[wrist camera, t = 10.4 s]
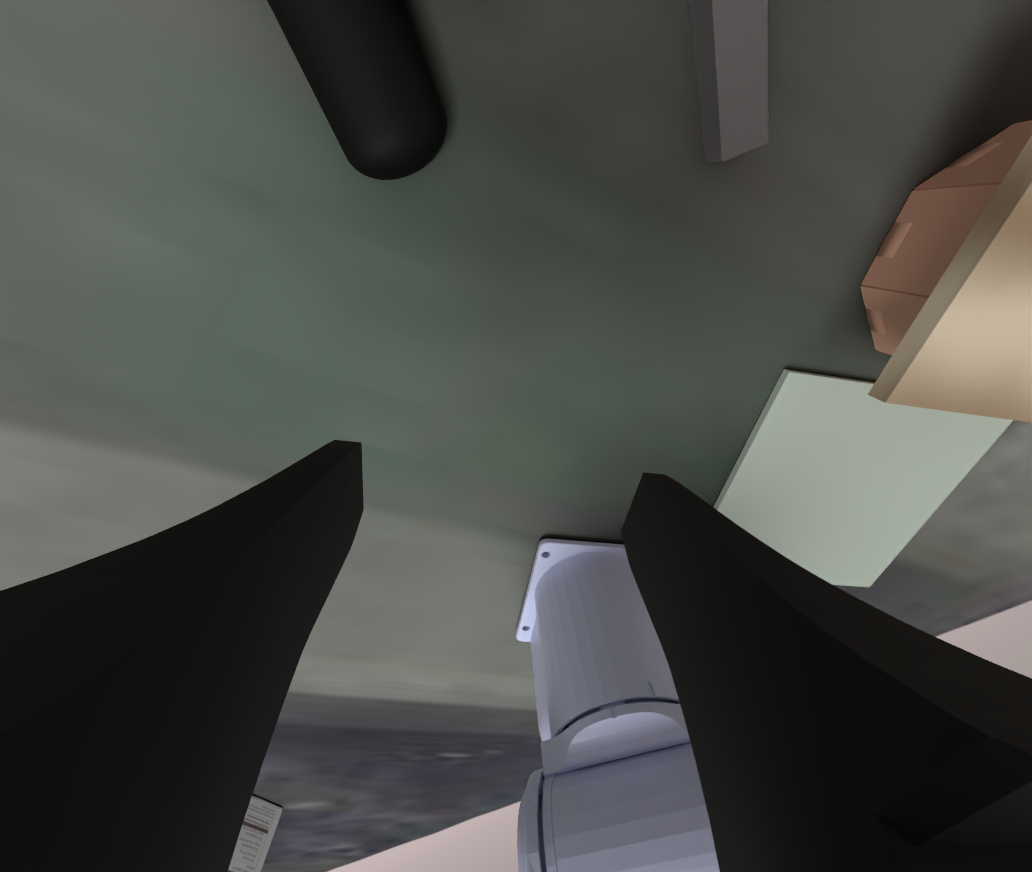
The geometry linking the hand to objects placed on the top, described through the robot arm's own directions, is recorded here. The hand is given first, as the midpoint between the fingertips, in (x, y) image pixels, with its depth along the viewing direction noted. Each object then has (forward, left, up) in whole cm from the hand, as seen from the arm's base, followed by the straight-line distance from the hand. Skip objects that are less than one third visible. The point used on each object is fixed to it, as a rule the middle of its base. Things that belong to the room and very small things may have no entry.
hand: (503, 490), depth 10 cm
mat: (-5, -21, -9) cm, 24 cm away
